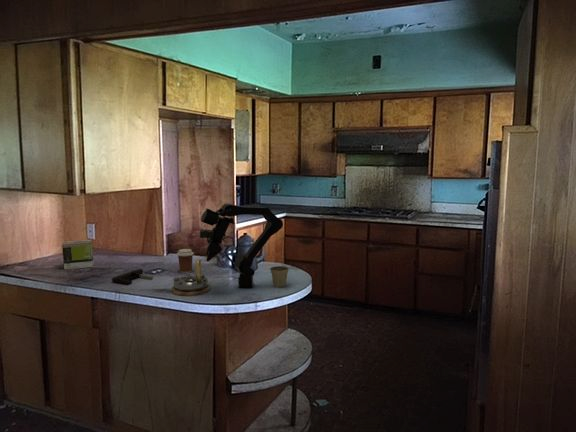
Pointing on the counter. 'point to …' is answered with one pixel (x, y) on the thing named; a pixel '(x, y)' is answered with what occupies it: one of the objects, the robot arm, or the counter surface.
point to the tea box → (77, 254)
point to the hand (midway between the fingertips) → (207, 258)
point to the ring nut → (191, 281)
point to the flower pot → (279, 275)
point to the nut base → (182, 293)
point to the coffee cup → (185, 260)
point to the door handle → (130, 277)
